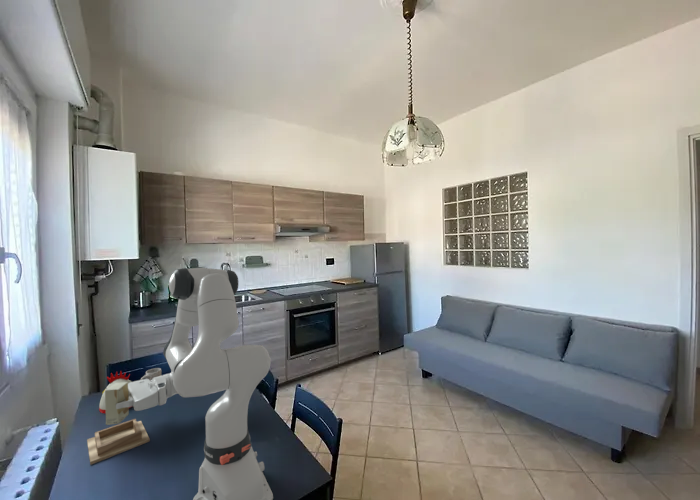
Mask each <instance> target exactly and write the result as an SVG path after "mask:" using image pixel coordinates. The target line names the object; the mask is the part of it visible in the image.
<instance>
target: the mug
mask: <svg viewBox="0 0 700 500" xmlns="http://www.w3.org/2000/svg"><path fill="white" fill-rule="evenodd" d="M161 375H162V368H161V367H155V368H151V369H148V370H146V371H145V374H144V375H143V376H142V377H141V378H140V380H143V379H149V380H150V381H152V379H153V378H154V377H158V376H161Z"/></svg>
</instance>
